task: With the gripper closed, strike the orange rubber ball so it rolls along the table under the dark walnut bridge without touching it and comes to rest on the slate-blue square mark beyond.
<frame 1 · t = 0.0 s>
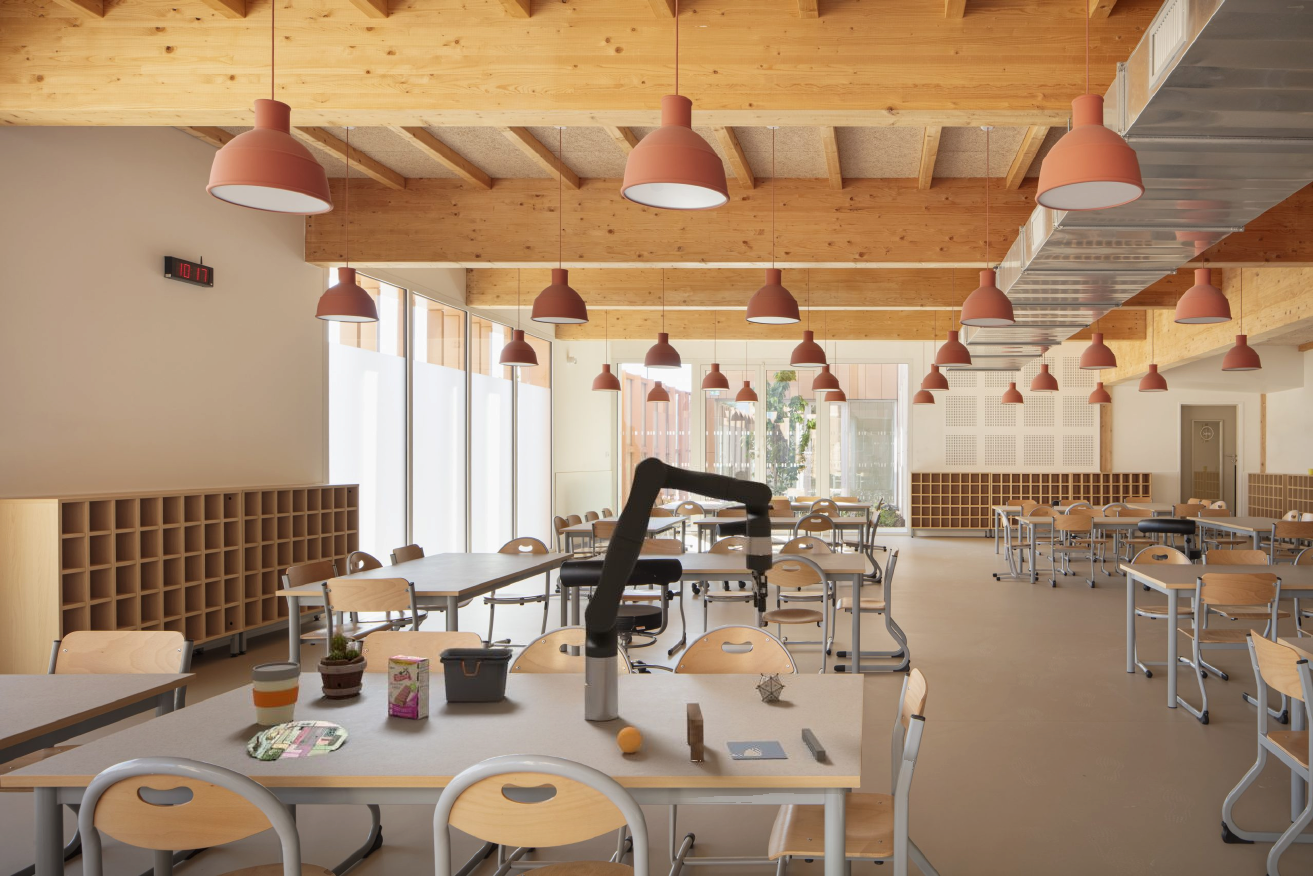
hand: (759, 609, 244), 29 cm above the table, tool pointing down, fingers open, 8 cm apart
stopper: (813, 749, 210), on the table
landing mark: (756, 750, 210), on the table
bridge: (695, 751, 209), on the table
game die: (770, 701, 257), on the table
candy bar box: (408, 716, 243), on the table
city model: (296, 749, 216), on the table
ball: (629, 740, 209), on the table
flowerpot: (342, 696, 267), on the table
storage bin: (475, 700, 261), on the table
reusable coffee cup: (275, 721, 239), on the table
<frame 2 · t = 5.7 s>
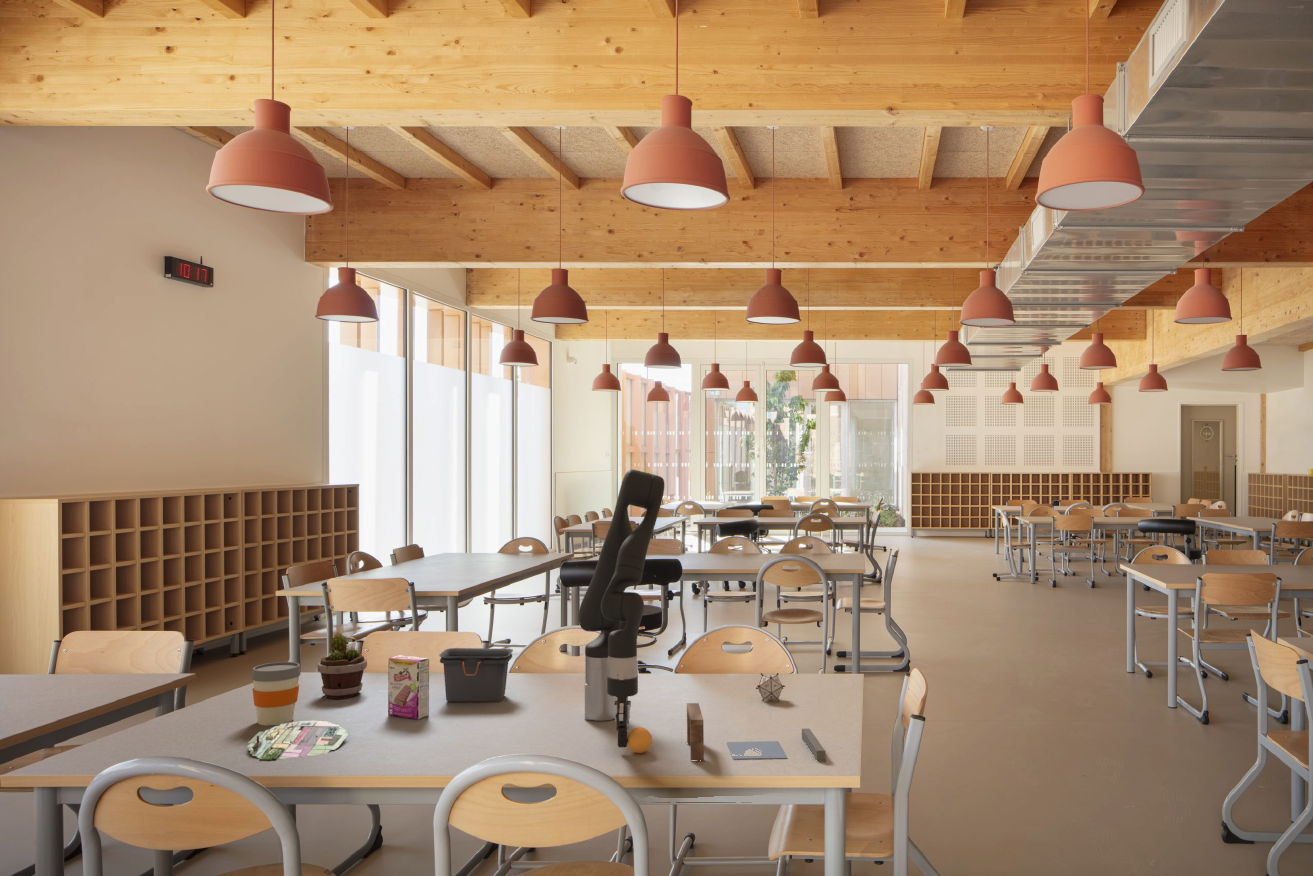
hand: (622, 746, 208), 2 cm above the table, tool pointing down, fingers closed
ball: (639, 740, 209), on the table, touching gripper
everything else where it was.
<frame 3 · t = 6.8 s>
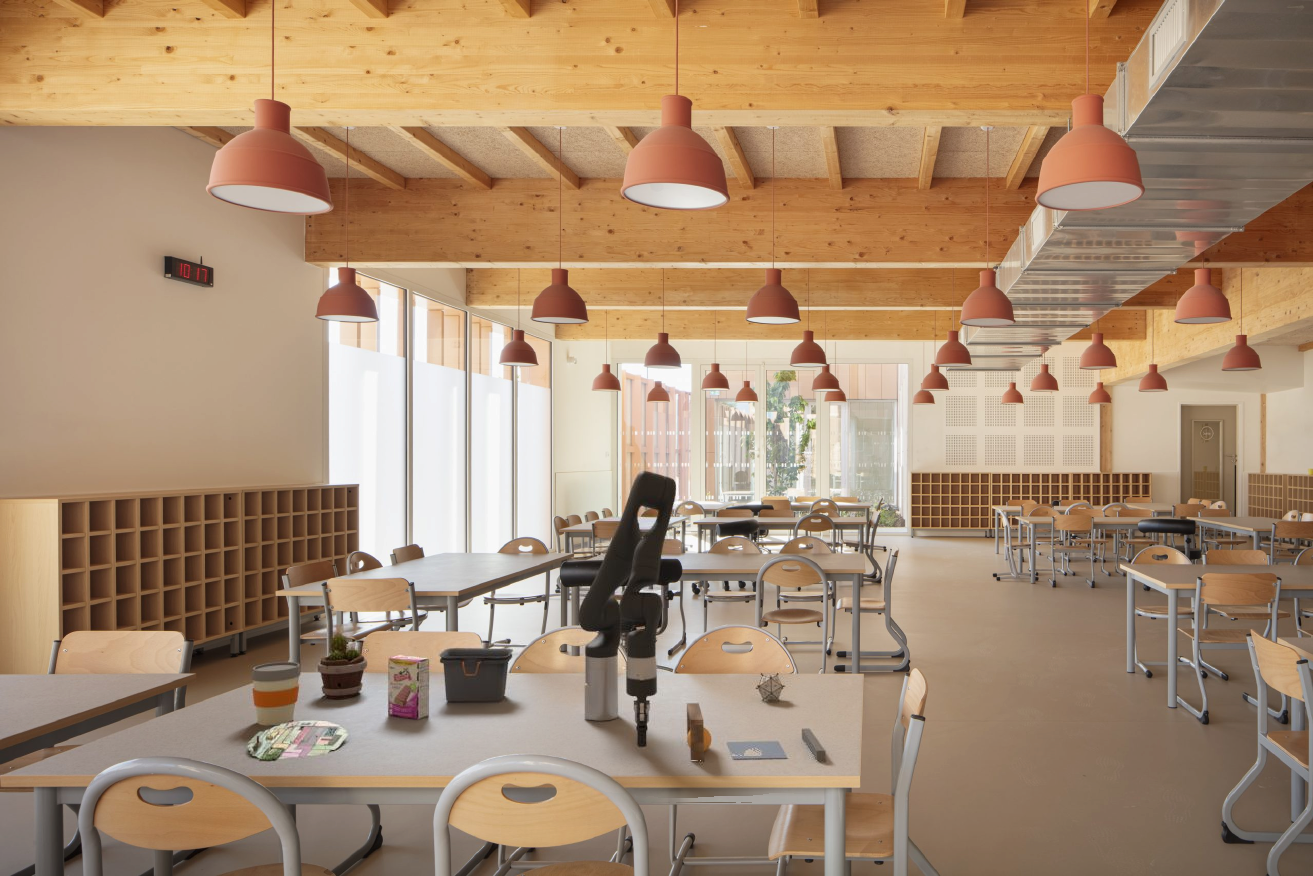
hand: (641, 746, 209), 2 cm above the table, tool pointing down, fingers closed
ball: (699, 739, 209), on the table
everything else where it was.
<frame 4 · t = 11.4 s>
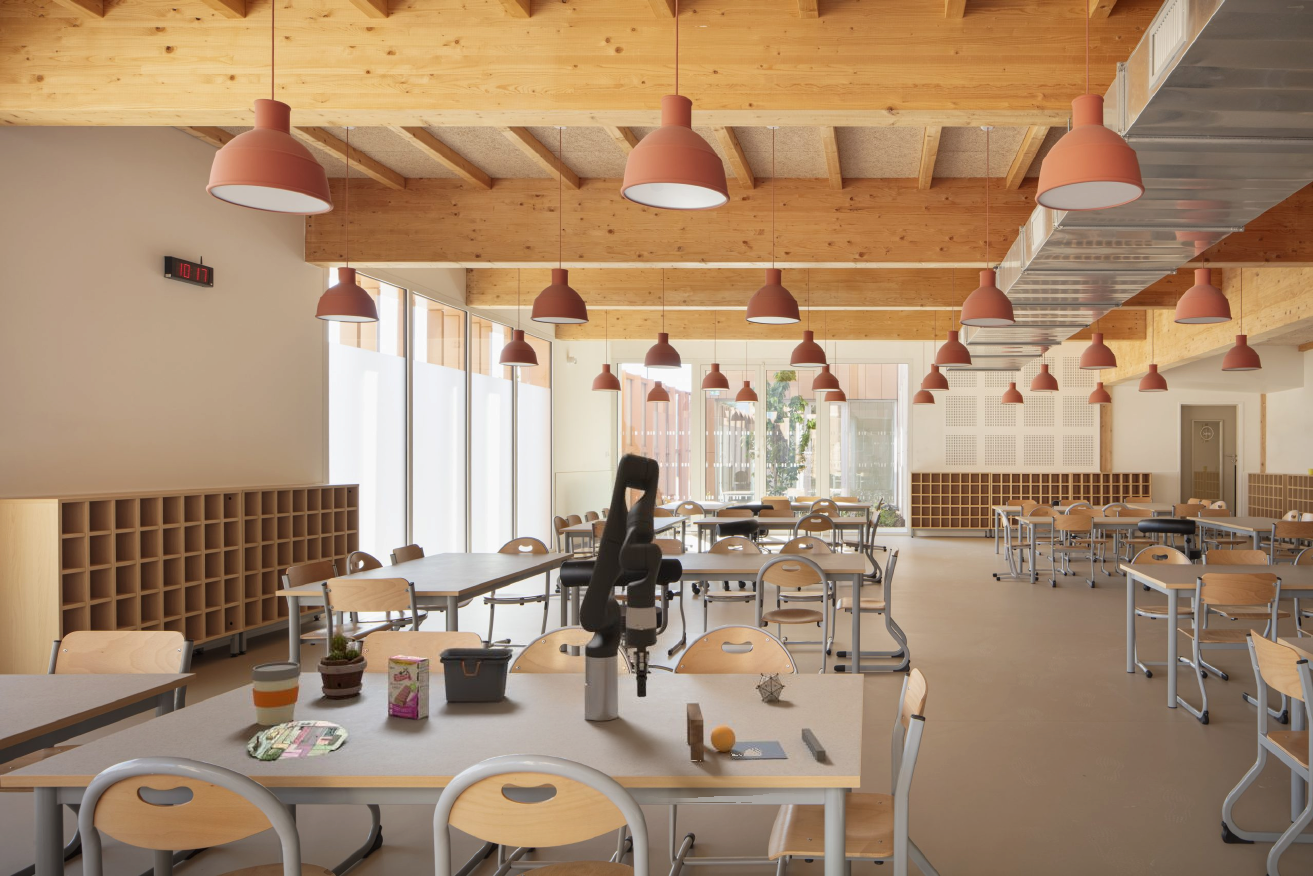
hand: (641, 696, 210), 14 cm above the table, tool pointing down, fingers closed
ball: (723, 738, 210), on the table
everything else where it was.
at the end: ball 8.2 cm from the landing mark (horizontally); ball never touched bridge; ball at rest at the end (0.0 cm/s) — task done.
